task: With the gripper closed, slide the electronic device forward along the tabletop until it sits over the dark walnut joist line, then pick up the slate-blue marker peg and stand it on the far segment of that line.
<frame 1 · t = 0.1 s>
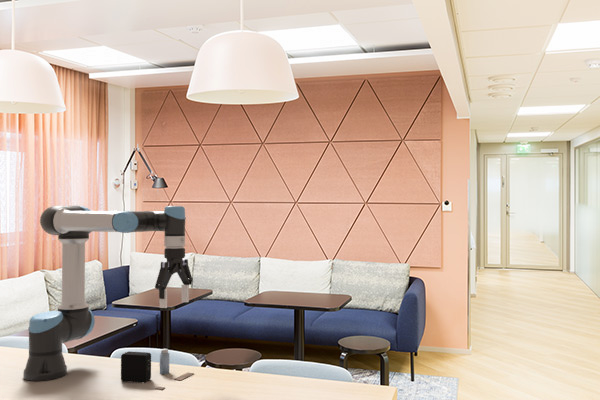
hand: (174, 304, 206), 28 cm above the table, fingers open, 13 cm apart
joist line: (174, 381, 204), on the table
marker peg: (164, 372, 216), on the table
electronic device: (135, 381, 206), on the table
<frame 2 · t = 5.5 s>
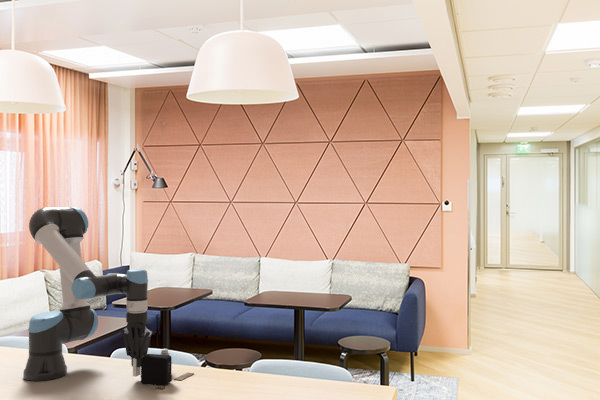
hand: (136, 375, 206), 2 cm above the table, fingers closed
electronic device: (156, 384, 202), on the table, touching hand
everything else where it was.
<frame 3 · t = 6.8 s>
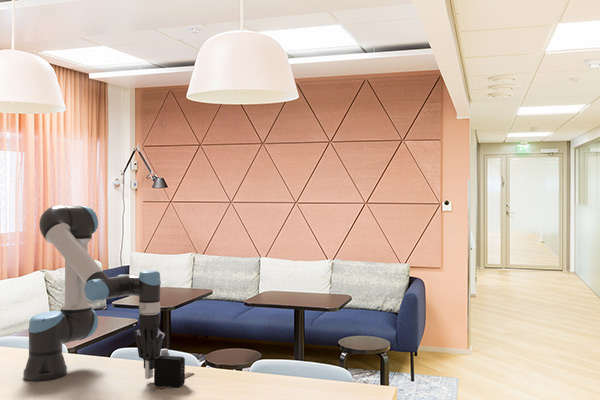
hand: (149, 377, 204), 2 cm above the table, fingers closed
electronic device: (169, 385, 200), on the table, touching hand
everything else where it was.
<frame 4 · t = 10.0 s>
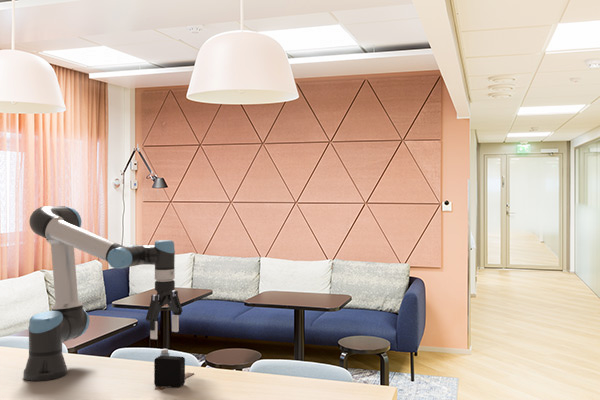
hand: (164, 335, 216), 15 cm above the table, fingers open, 13 cm apart
electronic device: (169, 385, 200), on the table
everything else where it was.
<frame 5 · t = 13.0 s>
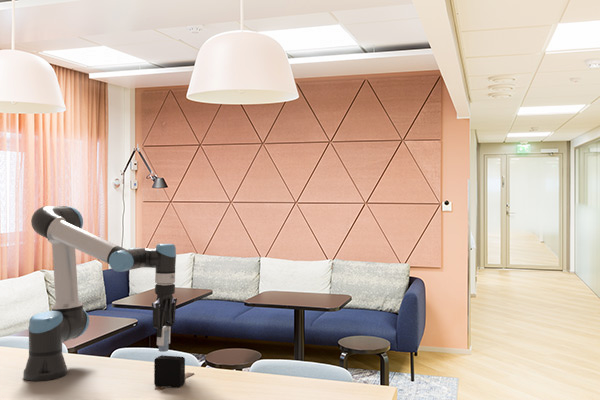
hand: (163, 344, 216), 11 cm above the table, fingers closed on marker peg, 3 cm apart
marker peg: (163, 350, 216), point 9 cm above the table, touching gripper
everything else where it was.
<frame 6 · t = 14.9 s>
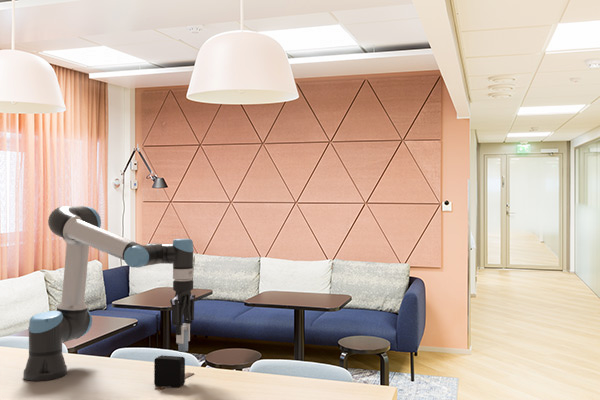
hand: (183, 341, 210), 13 cm above the table, fingers closed on marker peg, 3 cm apart
marker peg: (183, 350, 210), point 10 cm above the table, touching gripper
everything else where it was.
when the fingers open (1 cm above the table, at t = 17.1 s): marker peg stays where it is, resting on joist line.
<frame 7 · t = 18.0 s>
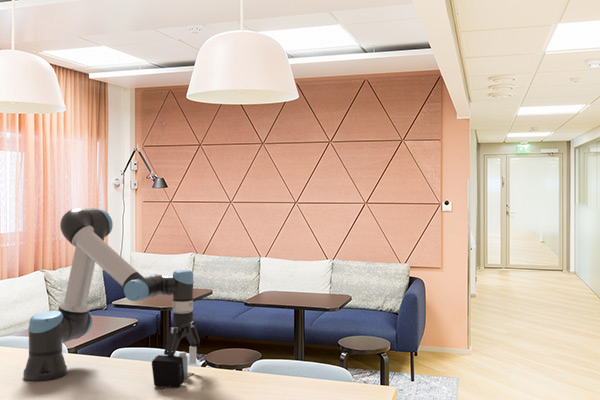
hand: (182, 368, 209), 4 cm above the table, fingers open, 13 cm apart
marker peg: (182, 376, 210), resting on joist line
electronic device: (169, 384, 200), on the table, touching gripper
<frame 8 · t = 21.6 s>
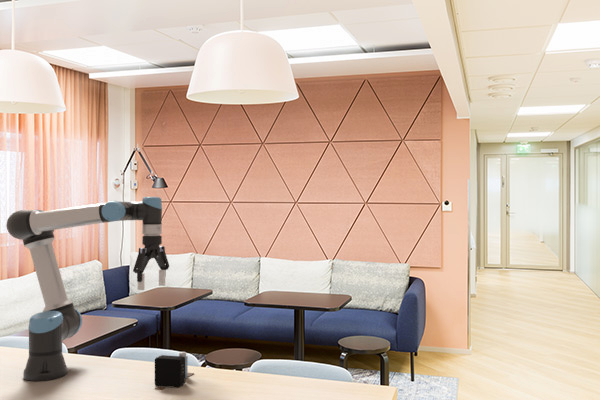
hand: (151, 287, 225), 32 cm above the table, fingers open, 13 cm apart
electronic device: (169, 385, 201), on the table
everything else where it was.
at the end: electronic device inside the target area (0.4 cm from its centre), on the table; marker peg inside the target area (0.7 cm from its centre), resting on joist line; marker peg tilted 0° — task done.
